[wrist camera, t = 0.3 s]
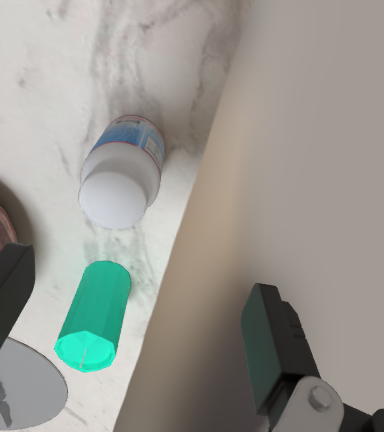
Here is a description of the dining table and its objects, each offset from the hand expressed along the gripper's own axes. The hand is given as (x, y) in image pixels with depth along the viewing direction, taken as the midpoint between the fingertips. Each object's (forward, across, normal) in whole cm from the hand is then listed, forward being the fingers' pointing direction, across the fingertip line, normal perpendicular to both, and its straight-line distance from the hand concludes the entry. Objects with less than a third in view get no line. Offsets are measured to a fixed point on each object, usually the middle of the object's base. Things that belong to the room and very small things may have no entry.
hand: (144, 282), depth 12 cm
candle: (+22, +4, +21) cm, 31 cm away
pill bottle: (+22, +3, +3) cm, 23 cm away
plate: (+22, +22, +48) cm, 58 cm away
